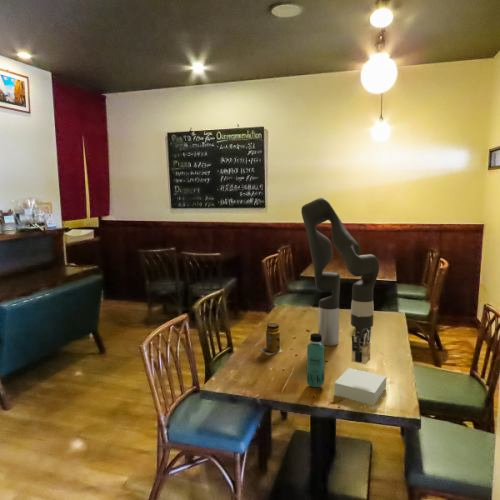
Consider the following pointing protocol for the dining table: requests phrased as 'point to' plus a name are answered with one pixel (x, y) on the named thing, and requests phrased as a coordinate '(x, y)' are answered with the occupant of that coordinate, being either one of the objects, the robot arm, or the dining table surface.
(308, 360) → the beverage bottle
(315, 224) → the robot arm
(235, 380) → the dining table surface
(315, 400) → the dining table surface
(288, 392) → the dining table surface
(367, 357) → the maple block
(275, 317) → the dining table surface
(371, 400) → the base block
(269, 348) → the condiment
